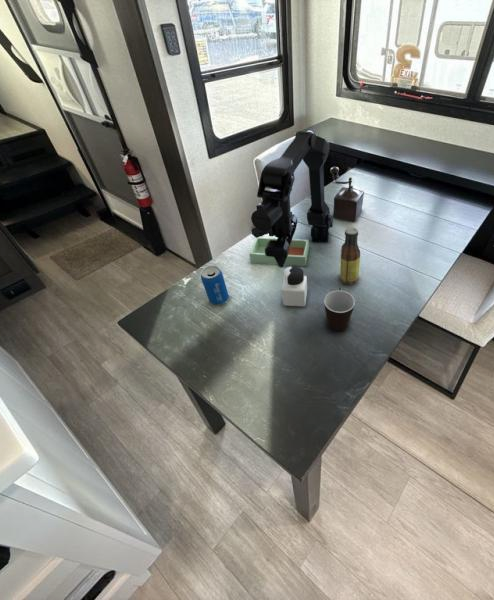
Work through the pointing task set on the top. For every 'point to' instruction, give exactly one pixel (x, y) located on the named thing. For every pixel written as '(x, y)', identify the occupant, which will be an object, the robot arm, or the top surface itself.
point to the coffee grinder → (347, 200)
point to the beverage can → (214, 285)
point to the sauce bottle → (350, 257)
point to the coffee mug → (338, 309)
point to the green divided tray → (295, 255)
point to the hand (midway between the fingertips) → (284, 257)
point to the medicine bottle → (294, 287)
